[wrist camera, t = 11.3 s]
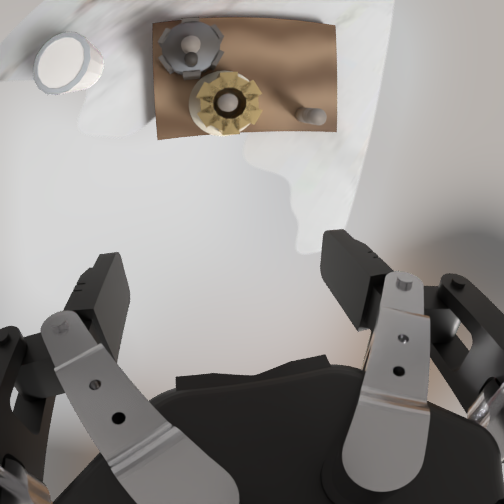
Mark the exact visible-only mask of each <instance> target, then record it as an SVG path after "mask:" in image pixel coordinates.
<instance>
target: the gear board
mask: <svg viewBox="0 0 504 504" xmlns="http://www.w3.org/2000/svg"><path fill="white" fill-rule="evenodd" d="M220 72H238V77H240V78H242V79H244V80H246V81H248V82H249V81H252V80H254V82H255V83H256V85H257V86H258V88H259V89H260V91H261V93H262V94H261V95H259V96H258V102H259V109H261V110H263V111H262V113H261V114H260V116H259V118H258V120H257V121H256V123H255V125H253V124H250V123H249V124H248V125H246V126H245V127H243V128H241V129H240V132H266V131H324V132H337V53H336V29H335V25H329V24H322V23H315V22H307V21H298V20H288V19H275V18H253V17H221V18H199V17H194V18H182V20H176V21H167V22H159V23H153V76H154V96H155V112H156V126H157V138H158V140H162V139H170V138H178V137H187V136H198V135H210V134H212V135H215V136H230V135H222V134H221V133H220V132H219V129H218V128H216V127H213V126H211V125H210V126H208V127H207V128H206V126H205V125H204V123H203V122H202V120H201V119H200V117H199V116H198V115H197V113H198V112H199V111H200V100H199V99H197V98H196V96H197V94H198V93H199V91H200V89H201V87H202V85H203V83H204V82H206V83H208V84H209V83H211V82H212V81H214V80H216V79H217V76H218V74H219V73H220ZM213 108H214V110H215V111H216V113H217V114H218V115H219V116H221V117H223V118H225V117H231V116H233V115H235V114H236V113H237V112H238V110H239V108H240V98H239V97H238V95H237V93H235V92H233V91H231V90H220V91H219V92H217V94H216V95H215V97H214V99H213ZM232 135H234V134H232Z"/></svg>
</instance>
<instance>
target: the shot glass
mask: <svg viewBox="0 0 504 504" xmlns="http://www.w3.org/2000/svg"><path fill="white" fill-rule="evenodd" d="M103 68H104V58H103V56H102V55H101V53H100V51H99V50H98V49H97V48H96V47H94V46H93V45H92V44H91V43H90V42H89V41H88V40H87V39H86V38H85V37H83V36H82V35H80V34H78V33H77V32H63V33H61V34H58V35H56V36H54V37H52V38H51V39H50V40H49V41H47V42H46V43H45V44H44V45H43V47H42V48H41V50H40V51H39V53H38V54H37V56H36V59H35V63H34V66H33V76H34V81H35V83H36V85H37V87H38V88H39V89H40V90H42V91H43V92H45V93H46V94H54V95H58V94H64V93H68V92H74V91H80V90H84V89H87V88H89V87H91V86H92V85H93V84H95V83H96V82H97V81H98V79H99V78H100V76H101V75H102V72H103Z"/></svg>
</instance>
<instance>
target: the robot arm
mask: <svg viewBox="0 0 504 504" xmlns="http://www.w3.org/2000/svg"><path fill="white" fill-rule="evenodd" d="M320 269H321V275H322V278H323V280H324V282H325V283H326V285H327V286H328V288H329V289H330V291H331V292H332V294H333V295H334V297H335V298H336V299H337V301H338V303H339V304H340V305H341V307H342V308H343V310H344V312H345V313H346V314H347V316H348V318H349V319H350V321H351V322H352V324H353V325H354V327H355V328H356V330H357V331H358V332H359V331H363V330H367V329H370V330H371V334H370V338H369V342H368V345H367V349H366V353H365V356H364V360H363V364H362V367H361V369H358V368H354V367H351V366H344V365H330V363H329V361H328V359H327V357H326V355H321V356H316V357H311V358H306V359H301V360H296V361H291V362H288V363H286V364H283V365H281V366H278V367H276V368H273V369H271V370H268V371H266V372H263V373H260V374H258V375H252V376H249V375H232V374H218V373H210V374H201V375H191V376H180V377H176V388H174V389H171V390H168V391H166V392H164V393H161V394H159V395H158V396H156V397H154V398H152V399H151V400H149V401H148V400H147V399H146V398H145V397H144V395H143V394H142V393H141V392H140V391H139V390H138V389H137V387H136V386H135V385H134V384H133V383H132V381H130V379H129V378H128V377H127V375H126V374H125V373H124V372H123V371H122V369H121V368H120V367H119V366H118V364H117V359H118V354H119V349H120V344H121V339H122V334H123V330H124V325H125V321H126V315H127V312H128V307H129V304H130V290H129V286H128V282H127V278H126V275H125V271H124V267H123V263H122V259H121V256H120V254H119V253H118V252H115V253H107V254H100V255H99V257H98V259H97V261H96V263H95V265H94V266H93V268H89V269H88V270H86V271H85V272H84V273H83V274H82V275H81V276H80V278H79V280H78V282H77V285H76V286H75V288H74V290H73V292H72V294H71V296H70V298H69V300H68V302H67V304H66V306H65V308H64V310H63V311H60V312H57V313H55V314H53V315H51V316H50V317H48V318H47V319H46V320H45V321H44V323H43V325H42V326H41V332H40V333H37V334H34V335H30V336H27V337H23V336H22V334H21V332H20V330H19V329H18V328H17V327H14V326H8V327H5V328H2V329H0V504H504V482H503V474H502V463H504V314H503V313H502V312H501V311H500V310H499V309H498V308H497V307H496V306H495V305H494V304H493V303H492V302H491V301H490V300H489V299H488V298H487V297H486V296H485V295H484V294H483V293H482V292H481V291H480V290H479V289H478V288H477V287H475V286H474V285H473V284H472V283H471V282H470V281H469V280H468V279H466V278H464V277H463V276H460V275H457V274H450V273H449V274H445V275H443V276H442V278H441V281H440V284H439V286H423V283H422V281H421V280H420V279H419V278H418V277H416V276H415V275H413V274H411V273H408V272H403V271H393V270H392V269H391V268H390V267H389V266H388V265H387V264H386V263H385V262H384V261H383V260H382V259H381V258H379V257H378V255H377V254H376V253H374V252H373V251H372V250H371V249H370V248H369V247H368V246H367V245H366V244H364V243H362V242H360V241H358V240H355V239H353V238H352V237H351V236H350V235H349V234H348V233H347V232H346V231H345V230H344V229H339V230H328V231H325V232H324V234H323V242H322V253H321V265H320ZM461 322H462V324H463V325H464V326H465V327H466V328H467V329H468V331H469V332H470V333H471V335H472V339H473V344H472V347H471V349H470V351H469V350H468V349H467V348H466V346H465V345H464V344H463V343H462V341H461V340H460V339H459V338H458V336H457V335H456V332H457V330H458V328H459V326H460V323H461ZM430 358H431V359H432V361H433V362H434V364H435V365H436V366H437V368H438V369H439V371H440V372H441V374H442V375H443V377H444V379H445V380H446V382H447V383H448V385H449V386H450V388H451V389H452V391H453V392H454V394H455V395H456V397H457V399H458V400H459V402H460V404H461V405H462V407H463V408H464V410H465V412H466V413H467V418H465V417H462V416H460V415H457V414H455V413H453V412H451V411H449V410H446V409H444V408H442V407H440V406H437V405H435V404H433V403H431V402H429V401H427V393H428V381H429V364H430ZM13 387H15V388H16V389H17V391H18V392H19V393H18V396H17V399H16V403H15V407H14V410H13V412H12V410H11V406H10V397H11V393H12V390H13ZM63 393H66V395H67V397H68V399H69V401H70V403H71V404H72V406H73V408H74V410H75V412H76V413H77V415H78V417H79V419H80V420H81V422H82V424H83V425H84V427H85V429H86V430H87V432H88V433H89V435H90V437H91V438H92V440H93V442H94V443H95V445H96V446H97V448H98V449H99V451H100V453H99V454H98V455H97V456H96V457H95V458H94V460H92V461H91V462H90V463H89V465H88V466H87V467H86V468H85V469H84V470H83V471H82V472H81V473H80V474H79V475H78V476H77V477H76V478H75V479H74V481H73V482H72V483H71V484H70V485H69V486H68V487H67V488H66V489H65V490H64V491H63V492H62V493H61V494H60V495H59V496H58V497H57V498H56V499H55V501H54V502H52V501H51V498H50V493H49V490H48V488H47V486H46V485H45V484H44V483H43V475H44V465H45V456H46V448H47V441H48V434H49V428H50V423H51V417H52V412H53V407H54V402H55V397H56V395H59V394H63Z"/></svg>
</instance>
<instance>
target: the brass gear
mask: <svg viewBox="0 0 504 504" xmlns="http://www.w3.org/2000/svg"><path fill="white" fill-rule="evenodd" d="M220 90H231V91H233V92H235V93H237V95H238V97H239V98H240V108H239V110H238V112H237V113H236V114H235V115H233V116H231V117H225V118H223V117H221V116H219V115H218V114H217V113H216V111H215V110H214V108H213V99H214V97H215V95H216V94H217V92H219V91H220ZM261 94H262V93H261V91H260V89H259V88H258V86H257V85H256V83H255V82H254V80H252V81H249V82H248V81H246V80H244V79H242V78H240V77H238V72H220V73H219V74H218V76H217V79H216V80H214V81H212V82H211V83H209V84H208V83H206V82H204V83H203V85H202V87H201V89H200V91H199V93H198V94H197V96H196V98H197V99H199V100H200V111H199V112H198V113H197V115H198V116H199V117H200V119H201V120H202V122H203V123H204V125H205V126H206V128H207V127H208V126H210V125H211V126H213V127H216V128H218V129H219V132H220V133H221V134H222V135H232V134H240V129H241V128H243V127H245V126H246V125H248V124H249V123H250V124H253V125H255V123H256V121H257V120H258V118H259V116H260V114H261V113H262V111H263V110H261V109H259V102H258V96H259V95H261Z"/></svg>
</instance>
